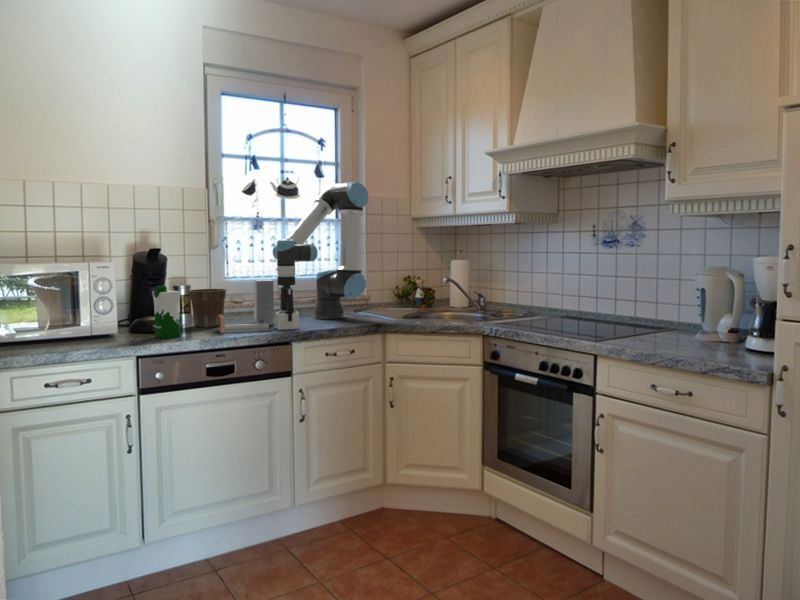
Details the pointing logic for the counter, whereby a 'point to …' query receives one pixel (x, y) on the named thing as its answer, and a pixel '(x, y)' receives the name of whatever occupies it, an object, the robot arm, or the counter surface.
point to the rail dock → (240, 327)
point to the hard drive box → (263, 301)
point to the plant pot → (207, 306)
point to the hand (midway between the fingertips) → (287, 327)
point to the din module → (281, 320)
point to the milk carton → (166, 313)
